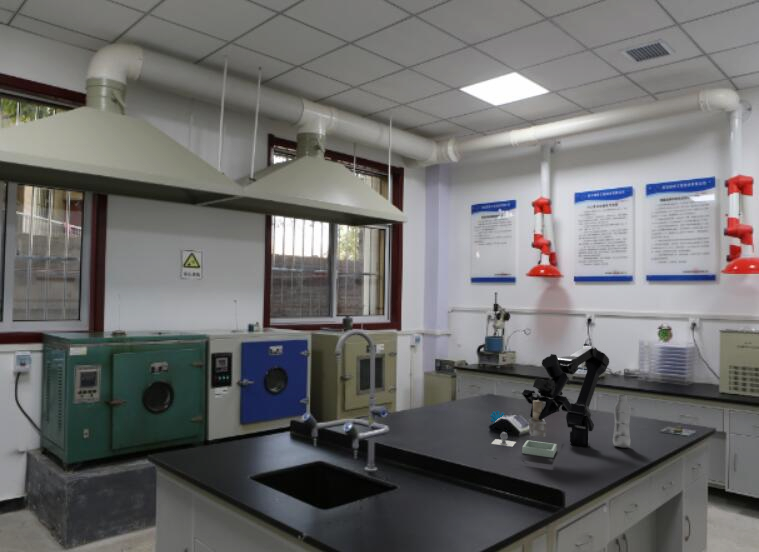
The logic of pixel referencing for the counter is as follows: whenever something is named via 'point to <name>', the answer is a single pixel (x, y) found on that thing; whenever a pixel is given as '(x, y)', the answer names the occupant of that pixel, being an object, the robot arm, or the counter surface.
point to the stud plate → (503, 440)
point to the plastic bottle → (622, 422)
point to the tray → (539, 448)
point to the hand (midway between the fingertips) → (535, 418)
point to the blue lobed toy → (495, 416)
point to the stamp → (537, 420)
